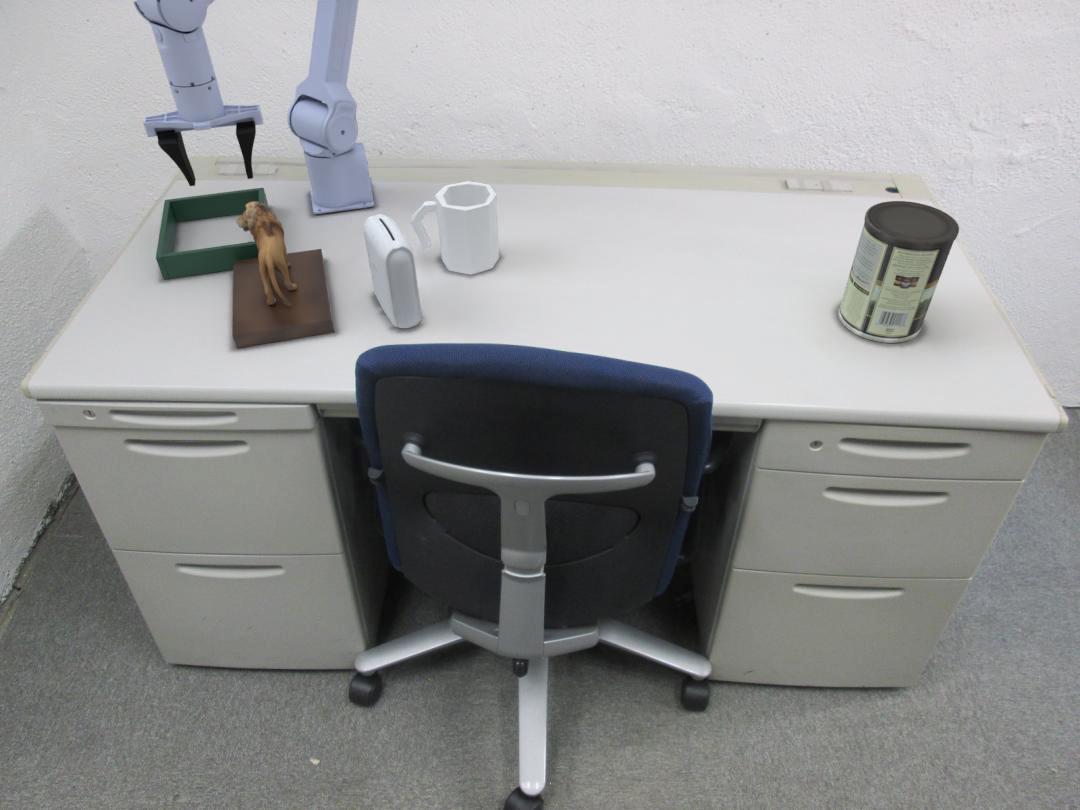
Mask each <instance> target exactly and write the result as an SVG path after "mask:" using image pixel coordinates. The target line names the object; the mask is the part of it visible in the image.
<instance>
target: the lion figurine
mask: <svg viewBox="0 0 1080 810" xmlns="http://www.w3.org/2000/svg"><path fill="white" fill-rule="evenodd" d="M245 207H246V211H245V212H244V213H242V215H240V217H237V219H236V220H235V223H236V224H237V225H238V227H239V228H240V229H242V230H243V232H250V235H251V236H252V238H253V240H254V241H255V243H256V244H257V248H258V250H259V255H258V258H259V270H260V274H261V278H262V281H263V284H264V287H265V293H266V295H267V298H268V300H267V303H268V305H273V304H275V303H276V299H275V298H274V297H273V293H272V289H271V287H270V283H269V279H270V278H271V281H272V284H273V287H274V289H275V290H276V292H277V294H278V295H279V296H280V298H281V299H282V300H283V301H284V304H285V305H287V306H291V303H290V301H289V300H288V298H287V297H285V296H284V295H283V294H282V292H281V291H280V289H279V287H278V284H277V282H276V279H275V275H274V269H275V270H276V271H277V272H279V273H280V275H281V276H282V277H283V279H284V284H285V286H286V287H287V288H288V290H295V289H296V288H297V285H296V284H295V283H291V282H290V279H289V272H288V267H290V265H291V264H290V262H288V261H287V254H288V252H287V246H286V245H285V244H286V243H285V231H284V228H283V227H282V223H281V222H280V221H279V220H278V218H277V216H276V214H275V213H274V212H273V211H271V210H270V207H269V206H268V207H269V208H268V207H267V206H266V205H265V204H262V203H259V202H258V201H257V202H255V201H254V202H249V203H247V204H246V205H245ZM273 268H274V269H273Z"/></svg>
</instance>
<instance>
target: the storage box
mask: <svg viewBox="0 0 1080 810" xmlns="http://www.w3.org/2000/svg"><path fill="white" fill-rule="evenodd" d="M266 195H267V194H266V191H265V188H264V187H256V188H247V189H240V190H231V191H225V192H217V193H209V194H208V193H207V194H201V195H192V196H184V197H178V198H177V197H175V198H170V199H169V198H168V199H164V202H163V209H162V216H161V220H160V227H159V234H158V239H157V240H158V241H157V248H156V253H155V260H156V262H157V266H158V268H159V270H160V273H161V276H162V279H163V280H170V279H177V278H184V277H191V276H197V275H204V274H212V273H219V272H224V271H231V270H232V271H233V261H239V260H246V259H253V258H258V255H259V250H258V248H257V244H256V243H255V240H254V241H247V242H240V243H233V244H225V245H220V246H212V247H204V248H197V249H196V248H195V249H190V250H182V251H175V252H174V248H175V247H174V246H175V238H176V232H177V231H176V230H177V223H180V222H186V221H187V222H189V221H195V220H203V219H209V218H217V217H219V218H220V217H227V216H232V215H240V214H243V213H244V212H245V211H246V207H245V205H246V204H247V203H249V202H254V201H255V202H257V201H258V202H259V203H262V204H265V205H266V206H267V207H268V208H269V209H270V206H269V204H268V199H267V196H266Z"/></svg>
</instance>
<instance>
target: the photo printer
mask: <svg viewBox="0 0 1080 810" xmlns="http://www.w3.org/2000/svg"><path fill="white" fill-rule="evenodd" d="M363 236H364V237H363V238H364V242H365V248H366V253H367V260H368V263H369V264H368V265H369V271H370V276H371V281H372V288H373V292H374V295H375V297H376V299H377V301H378V303H379V305H380V307H381V309H382V310H383V312H384V314H385V315H386V316H387V318H388V320H389V321H390V323H391V324H392V325H393V326H394V327H395V328H399V329H409V328H413V327H415V326H417V325H418V324H420V322H421V321H422V319H423V315H422V309H421V308H422V307H421V300H420V294H419V285H418V279H417V272H416V271H417V269H416V264H415V256H414V252H413V248H412V246H411V243H410V242H409V240H408V237H407V236H406V235H405V233H404V231H403V230H402V228H401V227H400V226H399V224H398V223H396V222H395V220H393V219H392V218H391V217H390V216H388V215H386V214H382V213H378V214H375V215H370V216H369V217H367V219H366V220H365V222H364V224H363Z"/></svg>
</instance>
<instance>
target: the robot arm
mask: <svg viewBox="0 0 1080 810" xmlns="http://www.w3.org/2000/svg"><path fill="white" fill-rule="evenodd" d="M215 1H216V0H134V1H133V5H134V7H135V10H136V11H137V12H138V14H139V15H140V16H141V17H142V18H143V19H144V20H145V21H147V22H148V24H149V25H150V27H151V30H152V34H153V36H154V39H155V42H156V47H157V49H158V52H159V57H160V60H161V62H162V65H163V68H164V72H165V75H166V79H167V82H168V85H169V87H170V92H171V94H172V97H173V98H172V99H173V101H174V103H175V107H176V110H174V111H169V112H166V113H161V114H156V115H151V116H145V117H144V118H143V123H142V124H143V125H144V129H145V132H146V135H147V137H148V138H151V137H157V144H158V146H159V148H160V149H161V150H162V151H163V152H164V153H165V154H166V155H167V156H168V157H169V158H170V159H171V161H173V163H174V164H175V165H176V166H177V167H178V169H179V170H180V172H181V173H182V174H183V176H184V178H185V179H186V181H187V183H188V185H189V187H195V186H196V176H195V172H194V169H193V167H192V164H191V161H190V159H189V156H188V153H187V149H186V145H185V143H184V139H183V134H182V132H188V131H206V130H207V131H208V130H210V129H215V128H226V127H234V126H235V136H236V140H237V142H238V146H239V149H240V151H241V152H240V153H241V156H242V159H243V163H244V169H245V174H246V177H247V180H252V179H254V172H253V163H252V158H253V148H254V143H255V139H256V134H257V130H256V128H257V127H256V126H259V125H260V126H261V125H264V117H263V114H262V109H261V105H260V104H253V105H252V104H251V105H240V104H239V105H233V104H232V105H231V104H224V101H223V98H222V94H221V90H220V87H219V82H218V79H217V76H216V72H215V69H214V65H213V61H212V58H211V53H210V50H209V46H208V42H207V39H206V35H205V33H204V29H203V25H204V23H205V21H206V18H207V13H208V8H209V6H210V5H212V3H214V2H215ZM358 6H359V0H317V4H316V11H315V18H314V26H313V34H312V43H311V50H310V51H311V52H310V58H309V66H308V67H309V68H308V76H307V77H306V78H305V79H304V80H303V81H301V82H300V83H299V84H298V85H297V86H296V88H295V95H294V98H293V101H292V102H291V104H290V106H289V108H288V111H287V117H286V118H287V119H286V121H287V125H288V128H289V130H290V131H291V133H292V134H293V135H294V136H295V137H297V138H298V139H299V144H300V146H301V147H302V151H303V156H304V160H305V165H306V169H307V174H308V179H309V185H310V188H311V189H310V190H309V194H310V200H311V208H312V213H313V214H314V215H321V214H322V215H323V214H327V213H329V214H330V213H336V212H343V211H350V210H351V211H352V210H358V209H364V208H365V209H367V208H373V207H374V206H375V201H374V195H373V189H374V186H373V180H372V177H371V176H370V171H369V163H368V159H367V153H366V149H365V144H364V143H363V142H356V141H357V139H358V135H359V123H358V120H357V107H358V104H357V102H356V100H355V98H354V97H353V94H352V93H351V92H350V90H349V88H348V86H347V85H348V78H349V70H350V63H351V56H352V51H353V50H352V49H353V43H354V36H355V28H356V21H357V15H358V8H359V7H358Z"/></svg>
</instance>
